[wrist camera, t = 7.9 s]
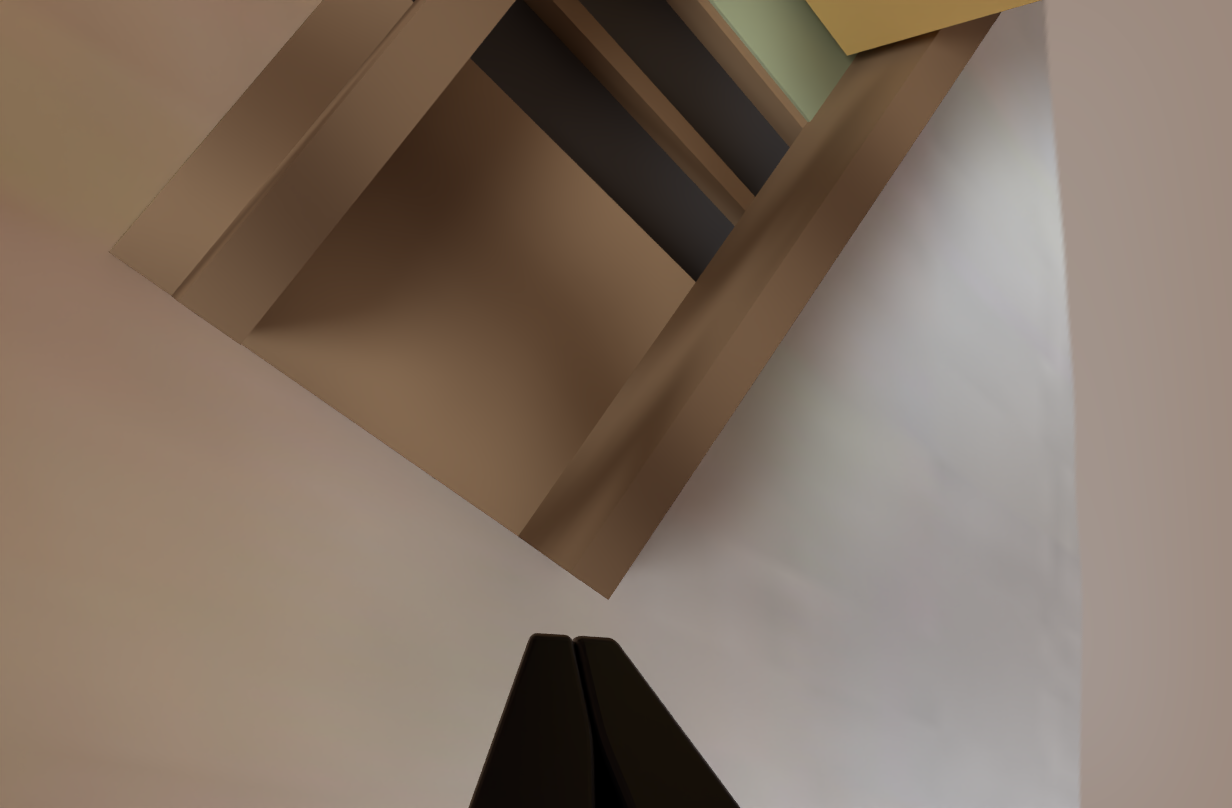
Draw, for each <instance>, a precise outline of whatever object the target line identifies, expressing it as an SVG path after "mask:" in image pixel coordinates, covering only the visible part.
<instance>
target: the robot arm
mask: <svg viewBox="0 0 1232 808" xmlns="http://www.w3.org/2000/svg"><path fill="white" fill-rule="evenodd" d="M469 808H740V807H739V805H738V804H737V803H736V801H735V800H734V799H733V797H732V796H731V795H730V793H729V792H728V790H727V789H726V788H725V786H724V785H723V784H722V782H721V781H720V780H719V778H718V777H717V776H716V774H715V773H714V772H713V770H712V769H711V768H710V766H709V765H708V764H707V762H706V761H705V760H704V758H703V757H702V755H701V754H700V753H699V751H698V750H697V749H696V747H695V746H694V745H693V743H692V742H691V741H690V739H689V738H688V737H687V735H686V734H685V733H684V731H683V730H682V729H681V727H680V726H679V725H678V723H677V722H676V721H675V719H674V718H673V716H672V715H671V714H670V712H669V711H668V710H667V708H666V707H665V706H664V704H663V703H662V702H661V700H660V699H659V698H658V696H657V695H656V694H655V692H654V691H653V690H652V688H651V687H650V686H649V684H648V683H647V682H646V680H645V679H644V677H643V676H642V675H641V673H640V672H639V671H638V669H637V668H636V667H635V665H634V664H633V663H632V661H631V660H630V659H629V657H628V656H627V655H626V653H625V652H624V651H623V649H622V648H621V647H620V645H619V644H618V643H617V642H616V641H615V640H613V639H611V638H603V637H588V636H578V637H576V638H574V639H573V641H572V639H571V638H570V637H569V636H567V635H557V634H541V633H535V634H533V635H532V636H531V637H530V638H529V640H528V643H527V646H526V649H525V651H524V654H523V657H522V660H521V663H520V665H519V668H518V671H517V674H516V677H515V679H514V682H513V685H512V688H511V690H510V693H509V696H508V699H507V702H506V704H505V707H504V710H503V713H502V716H501V718H500V721H499V724H498V727H497V730H496V732H495V735H494V738H493V741H492V744H491V746H490V749H489V752H488V755H487V758H486V760H485V763H484V766H483V769H482V772H481V774H480V777H479V780H478V783H477V786H476V788H475V791H474V794H473V797H472V800H471V802H470V805H469Z"/></svg>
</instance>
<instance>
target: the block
mask: <svg viewBox="0 0 1232 808" xmlns="http://www.w3.org/2000/svg"><path fill="white" fill-rule="evenodd" d="M1037 1H1040V0H806V2H807V3H808V4H809V6H810V7H811V8H812V10H813V11H814V12H815V14H816V15H817V16H818V18H819V19H820V20H821V22H822V23H823V24H824V26H825V27H826V28H827V30H828V31H829V32H830V34H831V35H832V36H833V38H834V39H835V40H836V42H837V43H838V44H839V46H840V47H841V48H842V49H843V51H844V52H845V53H846V55H847V56H848V55H851V54H855V53H858V52H862V51H865V50H869V49H872V48H876V47H879V46H883V45H886V44H890V43H893V42H897V41H900V40H904V39H907V38H911V37H914V36H918V35H921V34H925V33H928V32H932V31H935V30H939V29H942V28H946V27H949V26H953V25H956V24H960V23H963V22H967V21H970V20H974V19H977V18H981V17H984V16H988V15H991V14H995V13H998V12H1002V11H1005V10H1009V9H1012V8H1016V7H1019V6H1023V5H1026V4H1030V3H1033V2H1037Z"/></svg>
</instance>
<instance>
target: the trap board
mask: <svg viewBox="0 0 1232 808" xmlns="http://www.w3.org/2000/svg"><path fill="white" fill-rule="evenodd" d="M1000 13H1001V12H998V13H995V14H991V15H988V16H984V17H981V18H977V19H974V20H970V21H967V22H963V23H960V24H956V25H953V26H949V27H946V28H942V29H939V30H935V31H932V32H928V33H925V34H921V35H918V36H914V37H911V38H907V39H904V40H900V41H897V42H893V43H890V44H886V45H883V46H879V47H876V48H872V49H869V50H865V51H862V52H858V53H855V54H851V55H848V56H847V55H846V53H845V52H844V51H843V49H842V48H841V47H840V46H839V44H838V43H837V42H836V40H835V39H834V38H833V36H832V35H831V34H830V32H829V31H828V30H827V28H826V27H825V26H824V24H823V23H822V22H821V20H820V19H819V18H818V16H817V15H816V14H815V12H814V11H813V10H812V8H811V7H810V6H809V4H808V3H807V2H806V0H322V2H321V3H320V4H319V5H318V6H317V8H316V9H315V10H314V11H313V12H312V13H311V15H310V16H309V17H308V18H307V19H306V20H305V22H304V23H303V24H302V25H301V26H300V28H299V29H298V30H297V31H296V32H295V33H294V35H293V36H292V37H291V38H290V39H289V40H288V42H287V43H286V44H285V45H284V46H283V48H282V49H281V50H280V51H279V52H278V53H277V55H276V56H275V57H274V58H273V59H272V60H271V62H270V63H269V64H268V65H267V66H266V68H265V69H264V70H263V71H262V72H261V73H260V75H259V76H258V77H257V78H256V79H255V80H254V82H253V83H252V84H251V85H250V86H249V88H248V89H247V90H246V91H245V92H244V93H243V95H242V96H241V97H240V98H239V99H238V100H237V102H236V103H235V104H234V105H233V106H232V108H231V109H230V110H229V111H228V112H227V113H226V115H225V116H224V117H223V118H222V119H221V120H220V122H219V123H218V124H217V125H216V126H215V128H214V129H213V130H212V131H211V132H210V133H209V135H208V136H207V137H206V138H205V139H204V140H203V142H202V143H201V144H200V145H199V146H198V148H197V149H196V150H195V151H194V152H193V153H192V155H191V156H190V157H189V158H188V159H187V160H186V162H185V163H184V164H183V165H182V166H181V168H180V169H179V170H178V171H177V172H176V173H175V175H174V176H173V177H172V178H171V179H170V180H169V182H168V183H167V184H166V185H165V186H164V188H163V189H162V190H161V191H160V192H159V193H158V195H157V196H156V197H155V198H154V199H153V200H152V202H151V203H150V204H149V205H148V206H147V208H146V209H145V210H144V211H143V212H142V213H141V215H140V216H139V217H138V218H137V219H136V220H135V222H134V223H133V224H132V225H131V226H130V228H129V229H128V230H127V231H126V232H125V233H124V235H123V236H122V237H121V238H120V239H119V240H118V242H117V243H116V244H115V245H114V246H113V248H112V249H111V250H110V251H109V253H111V254H112V255H114V256H115V257H117V258H118V259H119V260H121V261H122V262H124V263H125V264H127V265H128V266H130V267H131V268H132V269H134V270H135V271H137V272H138V273H140V274H141V275H142V276H144V277H145V278H147V279H148V280H150V281H151V282H153V283H154V284H155V285H157V286H158V287H160V288H161V289H163V290H164V291H166V292H167V293H168V294H170V295H171V296H172V297H174V298H175V299H176V300H177V301H178V302H180V303H181V304H183V305H184V306H185V307H187V308H188V309H190V310H191V311H193V312H194V313H195V314H197V315H198V316H200V317H201V318H203V319H204V320H206V321H207V322H208V323H210V324H211V325H213V326H214V327H216V328H217V329H219V330H220V331H221V332H223V333H224V334H226V335H227V336H229V337H230V338H232V339H233V340H234V341H236V342H237V343H239V344H240V345H241V344H242V345H243V346H245V347H246V348H248V349H249V350H251V351H252V352H253V353H255V354H256V355H258V356H259V357H261V358H262V359H264V360H265V361H266V362H268V363H269V364H271V365H272V366H274V367H275V368H277V369H278V370H279V371H281V372H282V373H284V374H285V375H287V376H288V377H289V378H291V379H292V380H294V381H295V382H297V383H298V384H300V385H301V386H302V387H304V388H305V389H307V390H308V391H310V392H311V393H313V394H314V395H315V396H317V397H318V398H320V399H321V400H323V401H324V402H326V403H327V404H328V405H330V406H331V407H333V408H334V409H336V410H337V411H338V412H340V413H341V414H343V415H344V416H346V417H347V418H349V419H350V420H351V421H353V422H354V423H356V424H357V425H359V426H360V427H362V428H363V429H364V430H366V431H367V432H369V433H370V434H372V435H373V436H374V437H376V438H377V439H379V440H380V441H382V442H383V443H385V444H386V445H387V446H389V447H390V448H392V449H393V450H395V451H396V452H398V453H399V454H400V455H402V456H403V457H405V458H406V459H408V460H409V461H411V462H412V463H413V464H415V465H416V466H418V467H419V468H421V469H422V470H423V471H425V472H426V473H428V474H429V475H431V476H432V477H434V478H435V479H436V480H438V481H439V482H441V483H442V484H444V485H445V486H447V487H448V488H449V489H451V490H452V491H454V492H455V493H457V494H458V495H460V496H461V497H462V498H464V499H465V500H467V501H468V502H470V503H471V504H472V505H474V506H475V507H477V508H478V509H480V510H481V511H483V512H484V513H485V514H487V515H488V516H490V517H491V518H493V519H494V520H496V521H497V522H498V523H500V524H501V525H503V526H504V527H506V528H507V529H509V530H510V531H511V532H513V533H514V534H516V535H517V536H519V537H520V538H521V539H523V540H524V541H526V542H527V543H528V544H530V545H531V546H533V547H534V548H535V549H537V550H538V551H540V552H541V553H542V554H544V555H545V556H547V557H548V558H549V559H551V560H552V561H554V562H555V563H556V564H558V565H559V566H561V567H562V568H564V569H565V570H566V571H568V572H569V573H571V574H572V575H573V576H575V577H576V578H578V579H579V580H581V581H582V582H584V583H585V584H586V585H588V586H589V587H591V588H592V589H594V590H595V591H596V592H598V593H599V594H601V595H602V596H604V597H605V598H607V599H608V600H609V598H610V597H611V595H612V594H613V592H614V591H615V589H616V588H617V586H618V585H619V583H620V582H621V580H622V579H623V577H624V576H625V574H626V573H627V571H628V570H629V568H630V567H631V565H632V564H633V562H634V561H635V559H636V558H637V556H638V555H639V553H640V552H641V550H642V549H643V547H644V546H645V544H646V543H647V541H648V540H649V538H650V537H651V535H652V534H653V532H654V531H655V529H656V528H657V526H658V525H659V523H660V522H661V520H662V519H663V517H664V516H665V514H666V513H667V511H668V510H669V508H670V507H671V505H672V504H673V502H674V501H675V499H676V498H677V496H678V495H679V493H680V492H681V490H682V489H683V487H684V486H685V484H686V483H687V481H688V480H689V478H690V477H691V475H692V474H693V472H694V471H695V469H696V468H697V466H698V465H699V463H700V462H701V460H702V459H703V457H704V456H705V454H706V453H707V451H708V450H709V448H710V447H711V445H712V444H713V442H714V441H715V439H716V438H717V436H718V435H719V433H720V432H721V430H722V429H723V427H724V426H725V424H726V423H727V421H728V420H729V418H730V417H731V416H732V414H733V413H734V411H735V410H736V408H737V407H738V405H739V404H740V402H741V401H742V399H743V398H744V396H745V395H746V393H747V392H748V390H749V389H750V387H751V386H752V384H753V383H754V381H755V380H756V378H757V377H758V375H759V374H760V372H761V371H762V369H763V368H764V366H765V365H766V363H767V362H768V360H769V359H770V357H771V356H772V354H773V353H774V351H775V350H776V348H777V347H778V345H779V344H780V342H781V341H782V339H783V338H784V336H785V335H786V333H787V332H788V330H789V329H790V327H791V326H792V324H793V323H794V321H795V320H796V318H797V317H798V315H799V314H800V312H801V311H802V309H803V308H804V306H805V305H806V303H807V302H808V300H809V299H810V297H811V296H812V294H813V293H814V291H815V290H816V288H817V287H818V285H819V284H820V282H821V281H822V279H823V278H824V276H825V275H826V273H827V272H828V270H829V269H830V267H831V266H832V264H833V263H834V261H835V260H836V258H837V257H838V255H839V254H840V252H841V251H842V249H843V248H844V246H845V245H846V243H847V242H848V240H849V239H850V237H851V236H852V234H853V233H854V231H855V230H856V228H857V227H858V225H859V224H860V222H861V221H862V220H863V218H864V217H865V215H866V214H867V212H868V211H869V209H870V208H871V206H872V205H873V203H874V202H875V200H876V199H877V197H878V196H879V194H880V193H881V191H882V190H883V188H884V187H885V185H886V184H887V182H888V181H889V179H890V178H891V176H892V175H893V173H894V172H895V170H896V169H897V167H898V166H899V164H900V163H901V161H902V160H903V158H904V157H905V155H906V154H907V152H908V151H909V149H910V148H911V146H912V145H913V143H914V142H915V140H916V139H917V137H918V136H919V134H920V133H921V131H922V130H923V128H924V127H925V125H926V124H927V122H928V121H929V119H930V118H931V116H932V115H933V113H934V112H935V110H936V109H937V107H938V106H939V104H940V103H941V101H942V100H943V98H944V97H945V95H946V94H947V92H948V91H949V89H950V88H951V86H952V85H953V83H954V82H955V80H956V79H957V77H958V76H959V74H960V73H961V71H962V70H963V68H964V67H965V65H966V64H967V62H968V61H969V59H970V58H971V56H972V55H973V53H974V52H975V50H976V49H977V47H978V46H979V44H980V43H981V41H982V40H983V38H984V37H985V35H986V34H987V32H988V31H989V29H990V28H991V26H992V25H993V24H994V22H995V21H996V19H997V18H998V16H999V15H1000Z"/></svg>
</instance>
